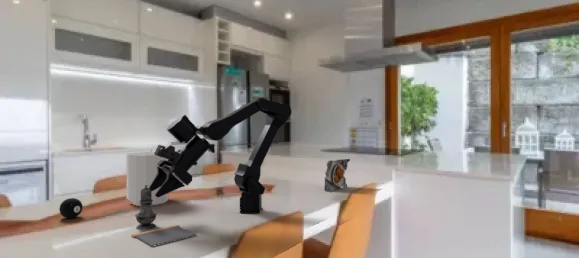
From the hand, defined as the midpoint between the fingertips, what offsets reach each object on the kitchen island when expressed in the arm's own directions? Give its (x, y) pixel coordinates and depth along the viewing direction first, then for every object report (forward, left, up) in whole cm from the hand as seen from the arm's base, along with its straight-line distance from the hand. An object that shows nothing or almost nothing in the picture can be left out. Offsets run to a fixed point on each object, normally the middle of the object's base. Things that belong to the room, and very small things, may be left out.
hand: (152, 193), depth 103 cm
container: (+18, -29, -10) cm, 35 cm away
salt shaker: (+1, +1, -10) cm, 10 cm away
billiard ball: (+29, -4, -10) cm, 31 cm away
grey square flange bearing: (-51, -65, -10) cm, 83 cm away
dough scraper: (-8, +8, -9) cm, 15 cm away
